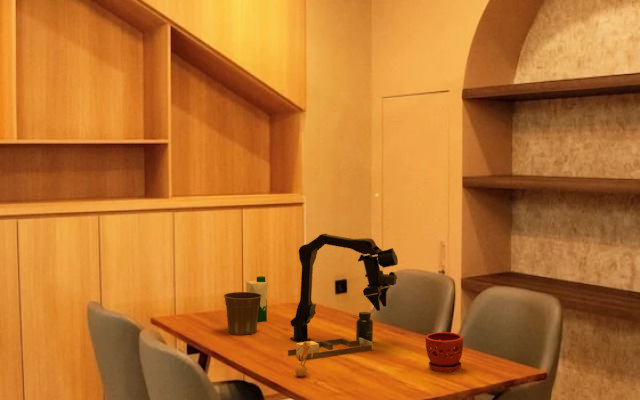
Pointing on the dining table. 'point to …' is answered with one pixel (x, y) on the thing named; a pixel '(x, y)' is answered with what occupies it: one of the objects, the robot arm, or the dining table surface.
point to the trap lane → (328, 344)
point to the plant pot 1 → (242, 312)
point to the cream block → (313, 345)
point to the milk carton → (261, 288)
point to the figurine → (301, 368)
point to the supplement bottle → (364, 326)
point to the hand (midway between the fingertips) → (381, 308)
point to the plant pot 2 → (444, 351)
